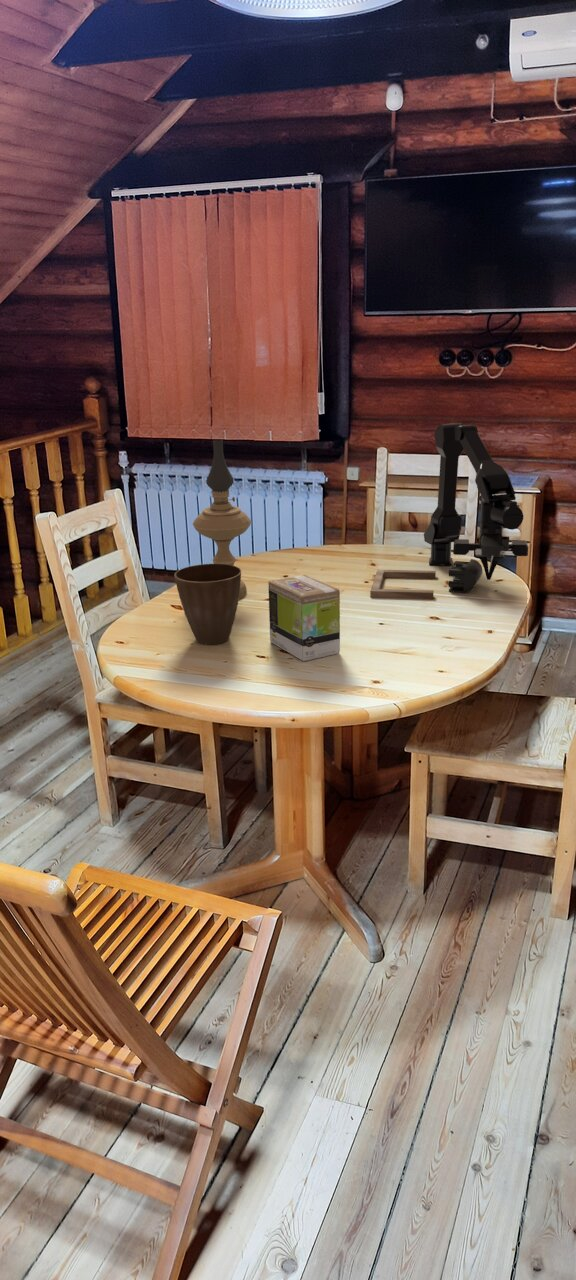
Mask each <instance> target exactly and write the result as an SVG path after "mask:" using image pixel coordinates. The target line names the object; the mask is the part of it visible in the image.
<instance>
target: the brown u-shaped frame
mask: <svg viewBox="0 0 576 1280" xmlns="http://www.w3.org/2000/svg"><path fill="white" fill-rule="evenodd" d="M436 573H437V572H436V570H416V569H414V570H413V569H409V570H408V569H379V568H378V569H377V570H376V572H375V575H374V578H373V582H372V583H371V588H370V593H369V595H370V596H369V597H370V598H391V599H392V598H395V599H399V598H400V599H422V600H425V599H427V600H430V599H431V600H433V599H434V592H435V591H434V590H430V589H428V590H426V589H425V590H424V589H398V588H397V589H393V588H390V589H389V588H382V585H383V581H384V578H399V579H400V578H401V579H402V578H403V579H405V578H406V579H436V575H437V574H436Z"/></svg>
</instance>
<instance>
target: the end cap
mask: <svg viewBox="0 0 576 1280" xmlns="http://www.w3.org/2000/svg"><path fill="white" fill-rule="evenodd" d="M481 564H482V563H480V562H479V561H477V560H476V559H473V558H471V559H470V560H469V561H461V560H460V561H459V560H455V561H454V562H453V565H451V566H450V568H449V569H448V577H453V578H452V580H448V592H449V593H455V594H467V593H469V592H470V591H471V590H472V589H474V588H475V587H476V584H477V583H478V581H479V579H480V578H481V577H482V575H483V565H481Z"/></svg>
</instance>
